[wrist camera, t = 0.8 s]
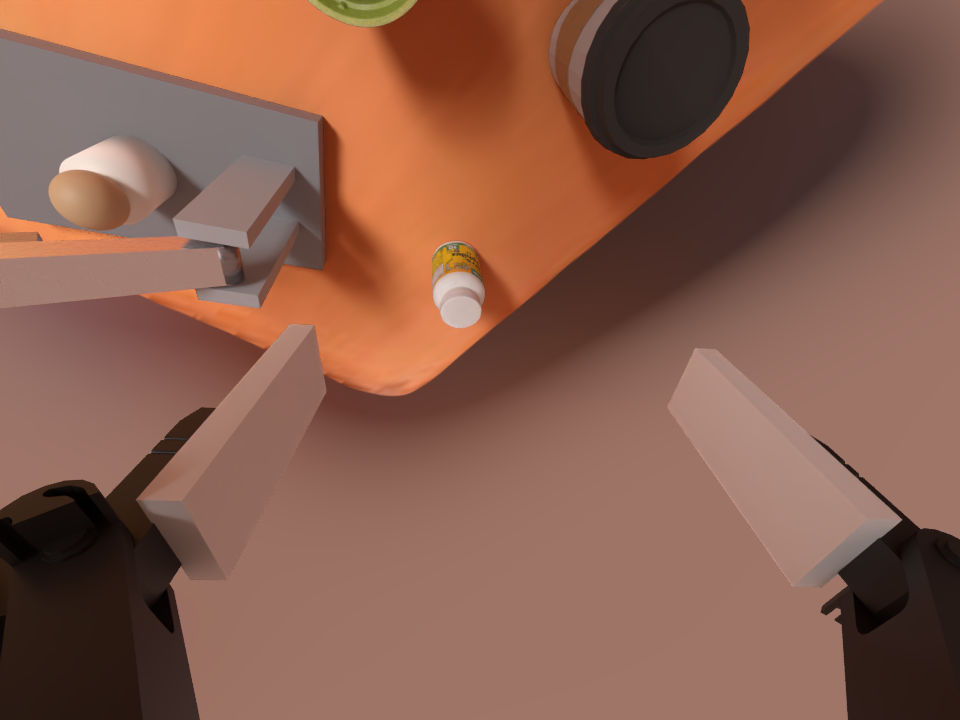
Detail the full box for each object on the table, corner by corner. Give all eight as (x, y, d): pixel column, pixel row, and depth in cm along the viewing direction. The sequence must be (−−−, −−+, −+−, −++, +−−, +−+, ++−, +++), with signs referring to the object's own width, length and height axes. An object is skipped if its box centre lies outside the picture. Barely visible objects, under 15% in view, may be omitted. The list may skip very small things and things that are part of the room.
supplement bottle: (423, 268, 42) (422, 321, 35) (446, 230, 39) (450, 280, 32) (463, 287, 45) (469, 340, 38) (488, 252, 42) (499, 304, 35)
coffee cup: (577, 130, 33) (643, 196, 23) (513, 53, 29) (560, 92, 19) (659, 39, 29) (785, 69, 19) (599, -67, 25) (720, -103, 15)
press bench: (-98, 2, 24) (-451, 15, 14) (322, 116, 31) (273, 177, 21) (25, 207, 34) (-139, 298, 24) (326, 260, 40) (293, 348, 31)
